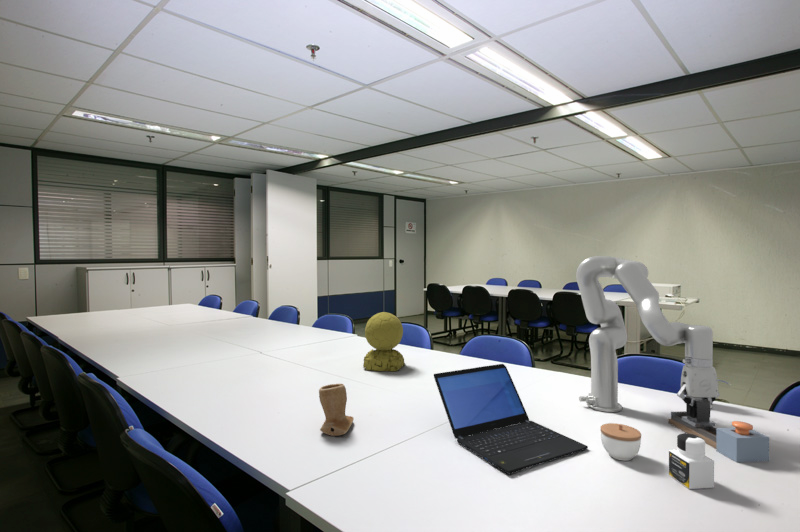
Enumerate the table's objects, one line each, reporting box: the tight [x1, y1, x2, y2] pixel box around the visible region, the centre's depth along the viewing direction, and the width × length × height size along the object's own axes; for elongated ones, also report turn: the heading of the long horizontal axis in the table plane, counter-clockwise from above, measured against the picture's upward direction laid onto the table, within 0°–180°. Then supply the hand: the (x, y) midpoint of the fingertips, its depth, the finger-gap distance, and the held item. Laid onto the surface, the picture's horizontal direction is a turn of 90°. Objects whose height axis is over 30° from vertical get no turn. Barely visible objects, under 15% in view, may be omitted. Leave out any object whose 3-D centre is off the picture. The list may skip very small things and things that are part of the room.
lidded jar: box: [600, 422, 642, 462], centre depth 123 cm, size 11×11×9 cm
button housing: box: [715, 427, 770, 463], centre depth 123 cm, size 10×7×7 cm
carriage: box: [682, 397, 716, 431], centre depth 139 cm, size 7×6×10 cm
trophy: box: [362, 311, 405, 372], centre depth 227 cm, size 22×22×30 cm
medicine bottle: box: [668, 432, 715, 490], centre depth 108 cm, size 7×7×12 cm
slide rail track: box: [667, 411, 718, 450], centre depth 137 cm, size 8×22×4 cm, turn 3°
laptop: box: [433, 363, 589, 475], centre depth 135 cm, size 33×38×19 cm
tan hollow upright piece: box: [318, 383, 354, 437], centre depth 144 cm, size 15×12×15 cm
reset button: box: [731, 420, 754, 436], centre depth 123 cm, size 5×5×4 cm
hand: (698, 415), depth 139 cm, fingers closed on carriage, 4 cm apart
